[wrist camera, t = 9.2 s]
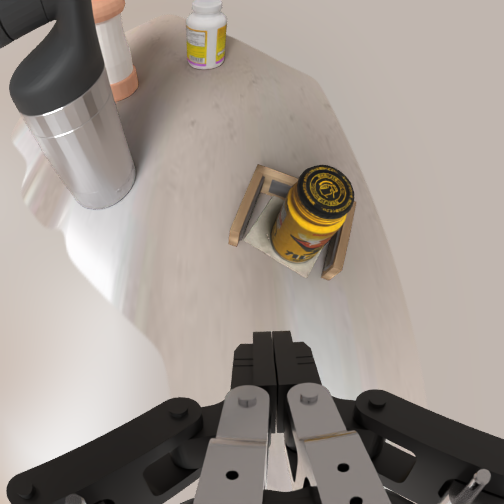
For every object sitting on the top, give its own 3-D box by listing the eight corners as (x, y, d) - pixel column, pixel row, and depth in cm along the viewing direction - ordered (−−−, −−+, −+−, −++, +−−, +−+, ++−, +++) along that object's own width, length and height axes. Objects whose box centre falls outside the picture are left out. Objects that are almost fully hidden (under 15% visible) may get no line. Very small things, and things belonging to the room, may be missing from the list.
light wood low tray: (228, 243, 35) (230, 229, 32) (253, 182, 39) (257, 164, 35) (328, 280, 35) (341, 270, 32) (343, 216, 39) (356, 201, 35)
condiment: (306, 278, 35) (347, 238, 24) (243, 240, 36) (256, 185, 25) (331, 230, 38) (374, 178, 26) (273, 196, 38) (295, 132, 27)
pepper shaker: (143, 91, 43) (129, -10, 25) (102, 108, 41) (74, 9, 23) (132, 71, 45) (118, -20, 27) (94, 86, 43) (71, -3, 25)
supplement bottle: (219, 50, 49) (223, -6, 37) (228, 68, 47) (234, 7, 35) (184, 55, 47) (183, -3, 35) (190, 73, 45) (189, 11, 33)
